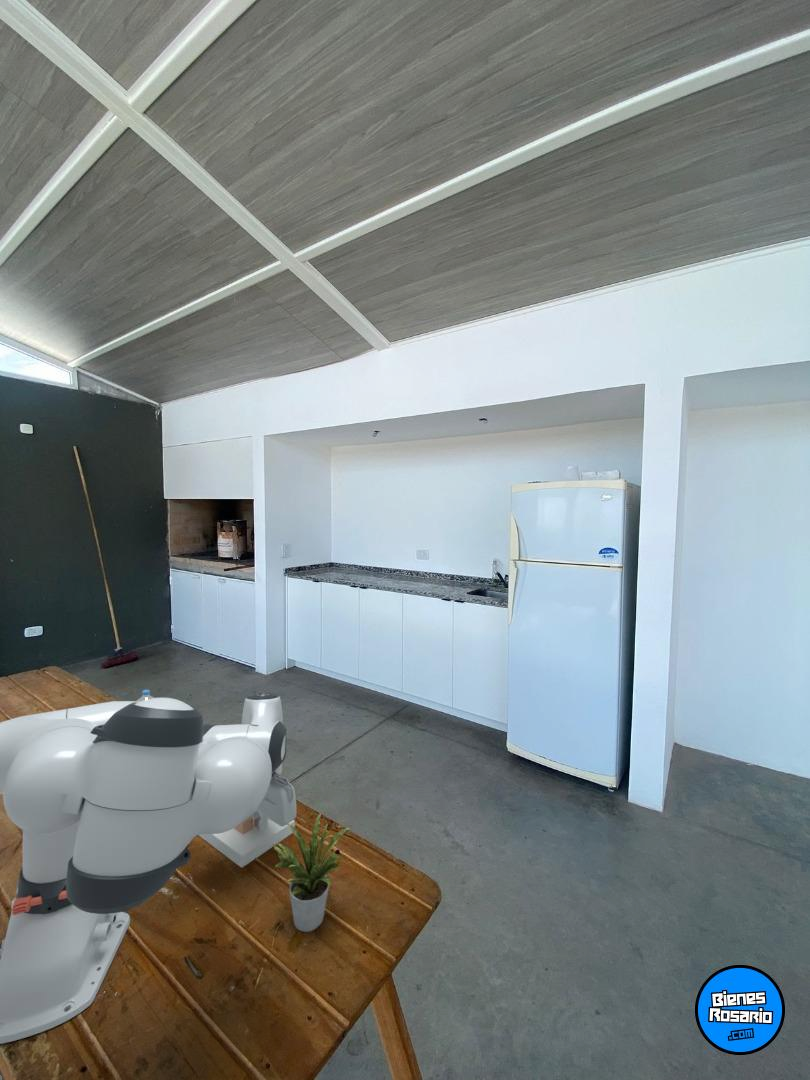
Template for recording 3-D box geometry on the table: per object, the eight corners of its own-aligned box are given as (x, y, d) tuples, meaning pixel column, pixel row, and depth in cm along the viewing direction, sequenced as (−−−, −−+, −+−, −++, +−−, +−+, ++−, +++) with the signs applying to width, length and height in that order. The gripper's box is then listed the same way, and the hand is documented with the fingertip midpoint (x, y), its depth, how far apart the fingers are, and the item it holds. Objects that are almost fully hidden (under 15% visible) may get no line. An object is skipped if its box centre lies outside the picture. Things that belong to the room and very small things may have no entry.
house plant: (334, 873, 92) (336, 794, 91) (366, 924, 80) (368, 834, 80) (264, 902, 84) (265, 817, 84) (287, 964, 73) (289, 865, 72)
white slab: (294, 831, 104) (294, 820, 104) (241, 867, 93) (241, 856, 92) (246, 802, 114) (246, 792, 114) (193, 831, 103) (194, 821, 103)
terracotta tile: (265, 820, 104) (265, 810, 104) (242, 834, 99) (242, 824, 99) (241, 805, 109) (241, 796, 109) (218, 818, 104) (219, 808, 104)
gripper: (304, 775, 96) (302, 839, 97) (246, 746, 108) (244, 803, 108) (280, 789, 91) (279, 856, 92) (222, 756, 103) (221, 816, 103)
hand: (260, 827), depth 100 cm, fingers closed
